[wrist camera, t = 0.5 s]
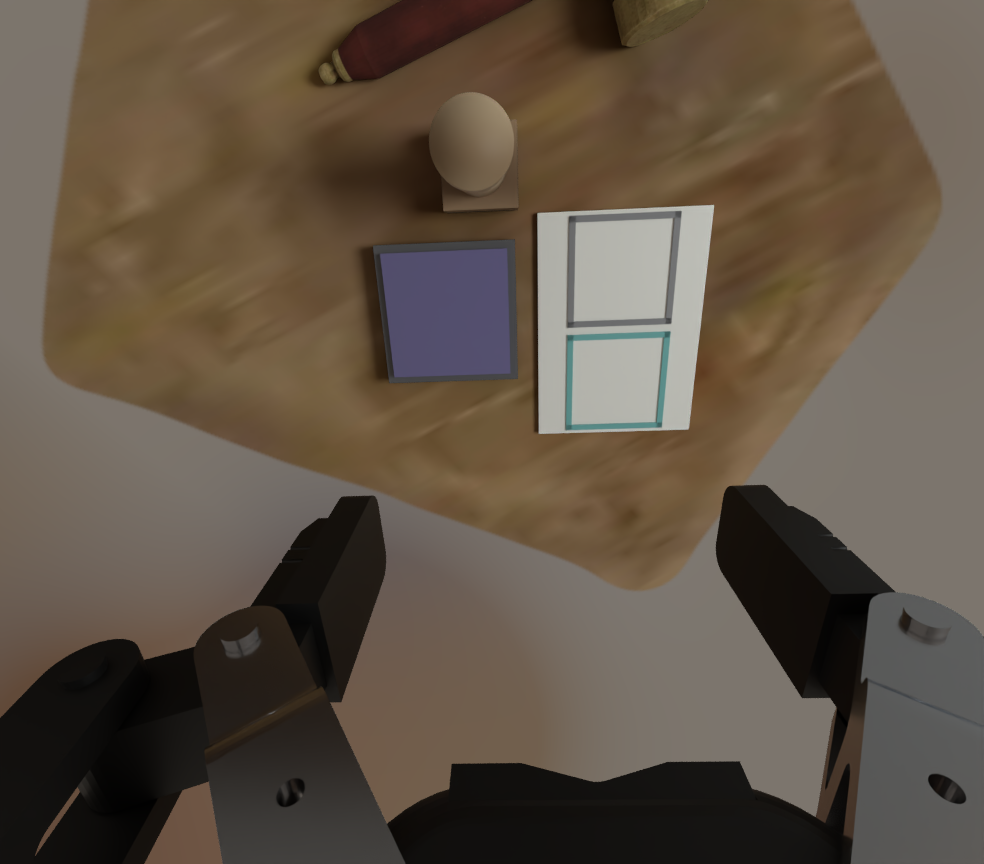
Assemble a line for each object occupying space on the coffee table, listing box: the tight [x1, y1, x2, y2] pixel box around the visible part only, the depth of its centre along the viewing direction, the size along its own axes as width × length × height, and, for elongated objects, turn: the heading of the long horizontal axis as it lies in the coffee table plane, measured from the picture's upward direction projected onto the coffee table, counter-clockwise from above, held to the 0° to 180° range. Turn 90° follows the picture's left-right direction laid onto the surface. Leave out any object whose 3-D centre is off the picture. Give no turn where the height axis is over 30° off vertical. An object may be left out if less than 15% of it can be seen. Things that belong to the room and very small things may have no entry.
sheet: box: [537, 205, 714, 434], centre depth 33 cm, size 15×11×1 cm
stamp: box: [429, 92, 519, 213], centre depth 26 cm, size 4×4×9 cm
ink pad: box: [373, 239, 518, 383], centre depth 32 cm, size 9×9×2 cm
